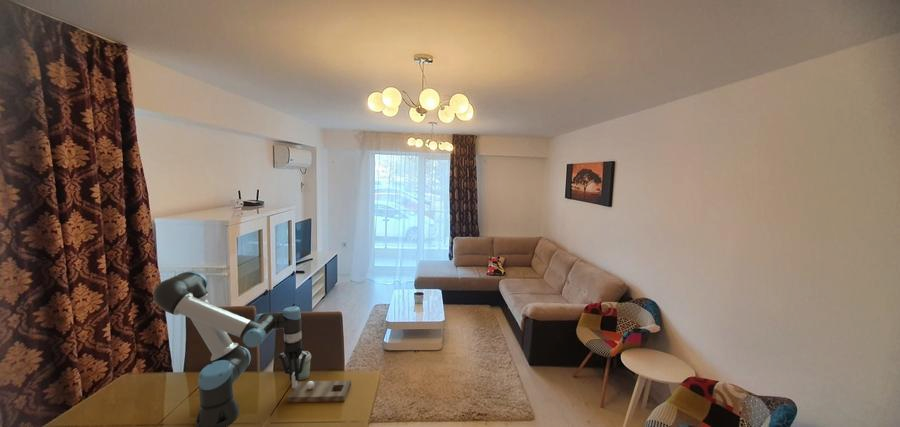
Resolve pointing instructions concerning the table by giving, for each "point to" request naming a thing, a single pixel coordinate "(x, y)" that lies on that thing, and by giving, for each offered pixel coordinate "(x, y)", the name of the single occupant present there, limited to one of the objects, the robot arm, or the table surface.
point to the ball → (310, 385)
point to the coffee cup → (305, 366)
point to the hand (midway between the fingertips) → (294, 386)
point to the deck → (320, 391)
